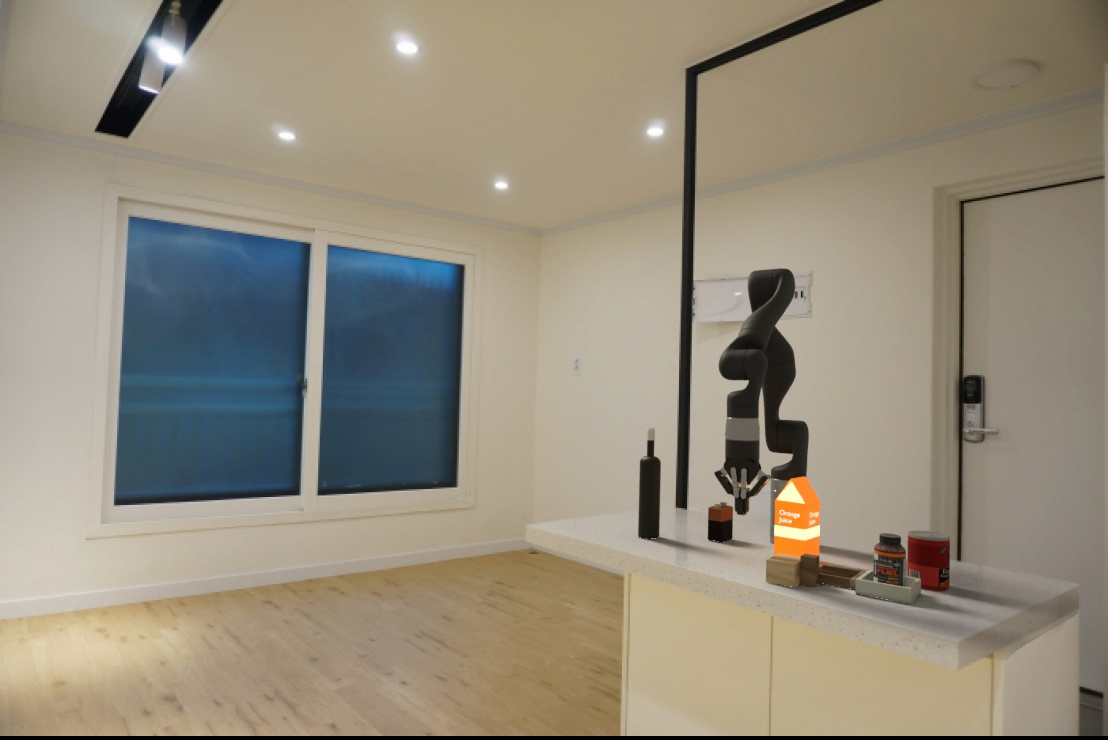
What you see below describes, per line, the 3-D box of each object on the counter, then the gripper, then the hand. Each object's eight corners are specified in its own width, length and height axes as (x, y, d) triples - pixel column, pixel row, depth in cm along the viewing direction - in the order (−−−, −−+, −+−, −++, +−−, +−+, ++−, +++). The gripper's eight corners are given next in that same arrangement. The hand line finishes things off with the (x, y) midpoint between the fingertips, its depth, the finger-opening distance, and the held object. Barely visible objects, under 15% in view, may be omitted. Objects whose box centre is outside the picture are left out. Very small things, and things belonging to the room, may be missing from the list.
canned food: (948, 593, 144) (949, 539, 144) (905, 586, 148) (905, 534, 149) (950, 585, 151) (950, 533, 151) (909, 579, 155) (909, 528, 155)
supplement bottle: (873, 592, 141) (874, 536, 141) (872, 585, 146) (872, 530, 146) (906, 596, 138) (907, 539, 139) (904, 589, 144) (904, 533, 144)
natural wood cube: (779, 576, 155) (780, 553, 155) (807, 581, 151) (807, 557, 151) (765, 583, 149) (766, 559, 149) (794, 588, 145) (794, 564, 145)
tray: (868, 584, 149) (868, 570, 149) (920, 593, 143) (921, 578, 143) (855, 594, 141) (855, 579, 141) (910, 604, 135) (910, 588, 135)
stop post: (804, 581, 150) (805, 553, 150) (819, 584, 148) (819, 555, 148) (800, 584, 148) (800, 555, 148) (814, 587, 146) (814, 558, 146)
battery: (733, 539, 193) (733, 503, 193) (721, 543, 187) (722, 505, 188) (718, 537, 195) (719, 501, 196) (706, 540, 190) (707, 503, 191)
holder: (821, 572, 158) (821, 564, 158) (865, 580, 152) (865, 571, 152) (807, 581, 151) (807, 571, 151) (853, 589, 145) (853, 579, 145)
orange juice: (773, 560, 169) (774, 477, 170) (789, 554, 175) (790, 474, 176) (804, 566, 164) (806, 480, 164) (820, 560, 170) (821, 478, 171)
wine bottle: (644, 534, 197) (646, 427, 198) (662, 537, 193) (665, 428, 194) (634, 537, 192) (636, 427, 193) (653, 540, 189) (655, 428, 190)
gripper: (777, 438, 157) (776, 515, 157) (722, 435, 165) (721, 508, 165) (764, 440, 151) (764, 521, 151) (708, 436, 159) (707, 513, 159)
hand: (741, 514), depth 158 cm, fingers closed
